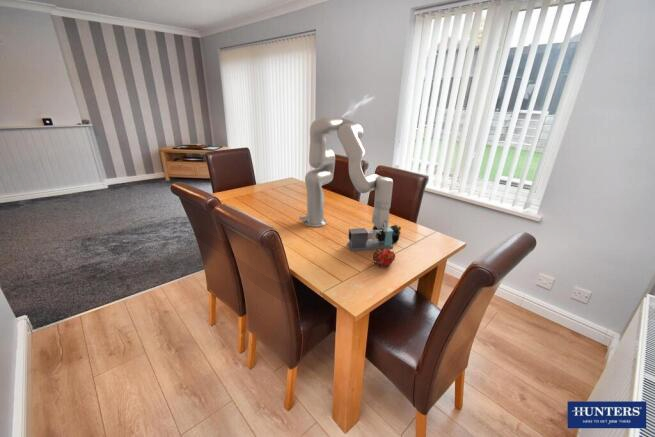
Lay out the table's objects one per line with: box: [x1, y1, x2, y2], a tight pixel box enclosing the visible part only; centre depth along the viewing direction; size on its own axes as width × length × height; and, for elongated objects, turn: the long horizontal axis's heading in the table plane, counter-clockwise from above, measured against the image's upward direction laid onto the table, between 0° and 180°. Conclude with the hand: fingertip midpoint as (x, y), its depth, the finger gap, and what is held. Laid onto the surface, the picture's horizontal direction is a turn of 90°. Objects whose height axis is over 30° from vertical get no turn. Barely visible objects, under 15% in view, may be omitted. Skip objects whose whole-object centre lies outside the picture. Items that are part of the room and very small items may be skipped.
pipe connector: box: [372, 224, 402, 244], centre depth 147 cm, size 12×5×15 cm
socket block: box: [381, 225, 394, 246], centre depth 136 cm, size 4×6×8 cm, turn 11°
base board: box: [346, 239, 394, 253], centre depth 137 cm, size 21×8×1 cm, turn 101°
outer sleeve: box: [348, 227, 368, 248], centre depth 134 cm, size 8×5×8 cm, turn 101°
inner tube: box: [366, 229, 383, 240], centre depth 135 cm, size 15×4×4 cm, turn 101°
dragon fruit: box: [372, 248, 396, 268], centre depth 121 cm, size 8×8×12 cm
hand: (378, 237), depth 136 cm, fingers open, 5 cm apart
